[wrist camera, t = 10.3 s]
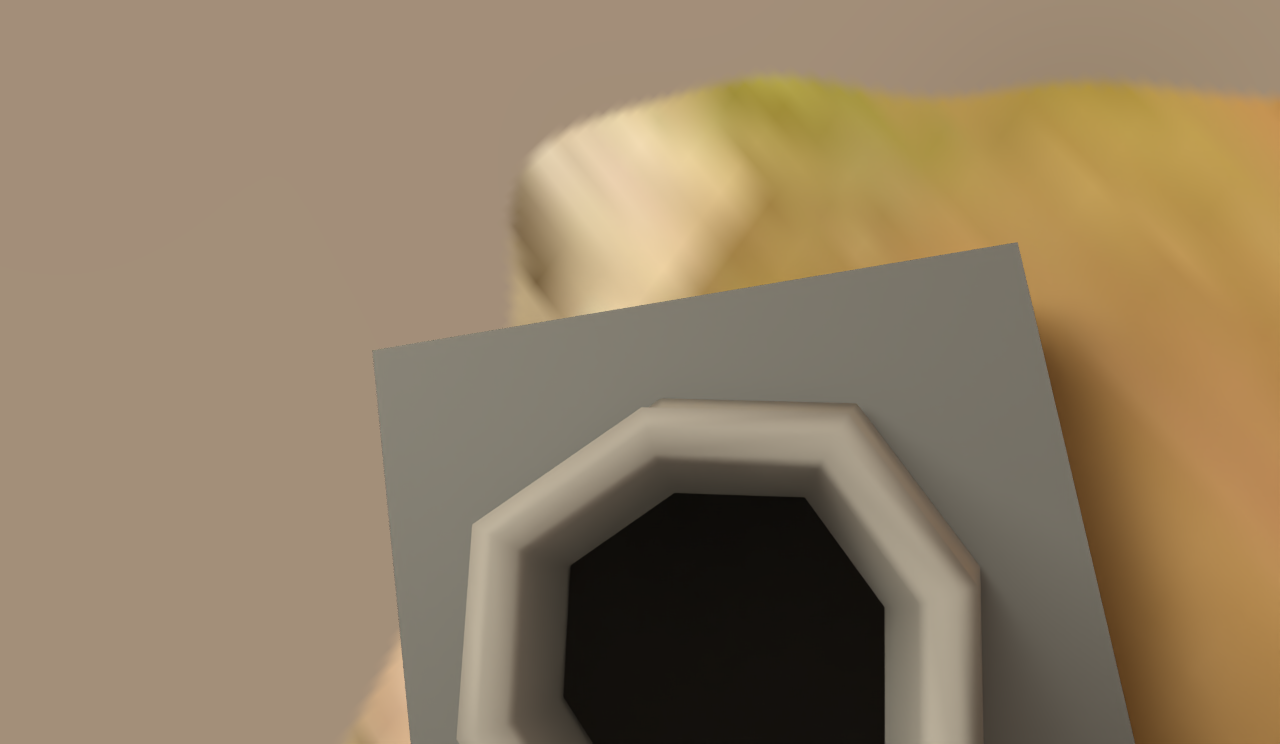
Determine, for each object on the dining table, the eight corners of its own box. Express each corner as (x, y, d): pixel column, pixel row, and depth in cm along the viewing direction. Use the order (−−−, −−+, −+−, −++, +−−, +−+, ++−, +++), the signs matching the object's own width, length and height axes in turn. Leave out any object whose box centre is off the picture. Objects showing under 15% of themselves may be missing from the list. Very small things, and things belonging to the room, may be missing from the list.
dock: (1113, 902, 18) (1184, 956, 15) (489, 987, 18) (442, 1056, 16) (978, 297, 20) (1017, 242, 17) (425, 389, 21) (372, 350, 18)
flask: (555, 975, 16) (248, 1552, 6) (433, 470, 17) (34, 275, 8) (1068, 828, 15) (1614, 1175, 6) (893, 332, 17) (1090, -48, 7)
